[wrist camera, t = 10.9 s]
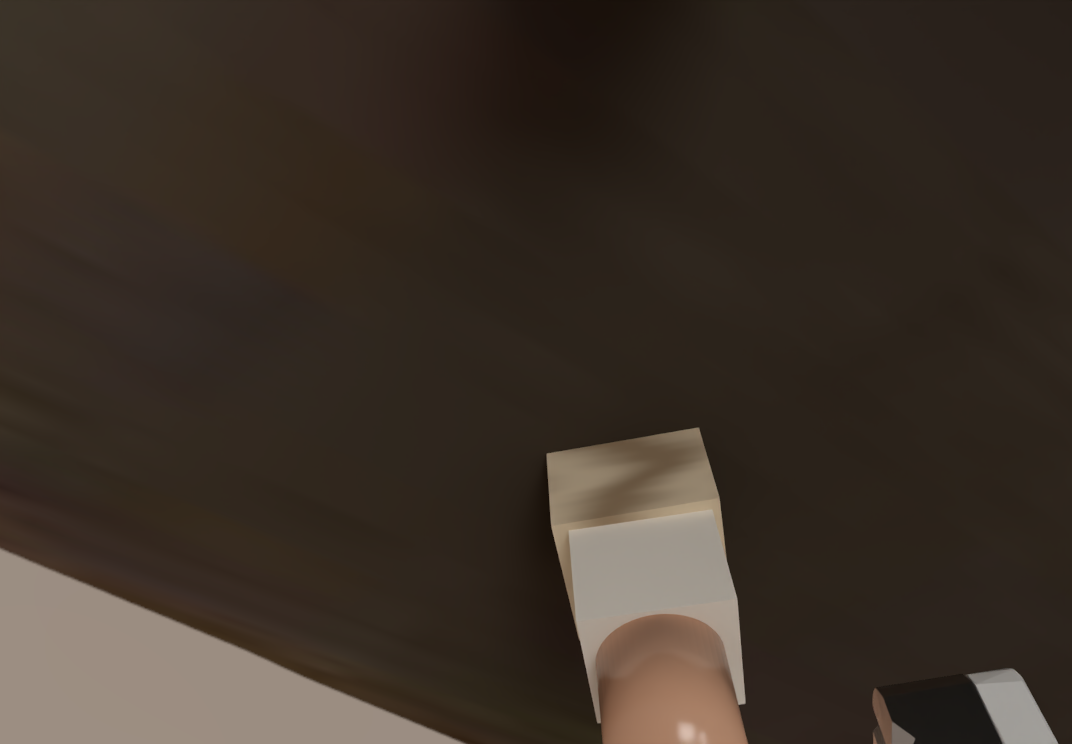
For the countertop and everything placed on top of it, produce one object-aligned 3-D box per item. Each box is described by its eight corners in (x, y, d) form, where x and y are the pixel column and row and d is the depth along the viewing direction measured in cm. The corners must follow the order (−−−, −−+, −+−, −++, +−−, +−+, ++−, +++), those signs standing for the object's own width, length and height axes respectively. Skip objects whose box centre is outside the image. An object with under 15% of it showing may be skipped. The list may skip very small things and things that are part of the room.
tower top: (712, 509, 39) (737, 598, 35) (721, 610, 43) (745, 703, 38) (568, 530, 40) (576, 621, 36) (588, 629, 43) (597, 723, 39)
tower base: (698, 425, 43) (719, 498, 39) (712, 538, 47) (732, 615, 43) (546, 452, 44) (551, 525, 40) (571, 561, 48) (579, 639, 43)
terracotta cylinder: (724, 607, 35) (759, 747, 30) (726, 696, 38) (759, 839, 33) (589, 621, 36) (602, 762, 31) (601, 708, 38) (614, 852, 33)
